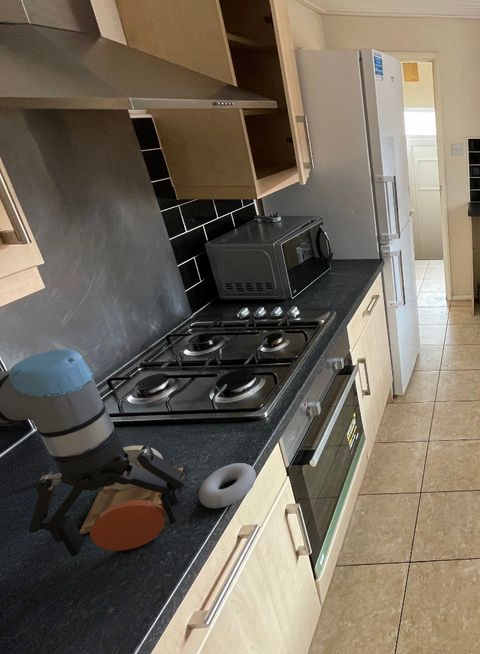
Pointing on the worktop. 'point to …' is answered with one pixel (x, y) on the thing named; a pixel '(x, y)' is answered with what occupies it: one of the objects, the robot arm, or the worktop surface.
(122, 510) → the terracotta coaster
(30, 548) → the worktop surface
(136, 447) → the cream coaster
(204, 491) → the donut
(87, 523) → the coaster rack
